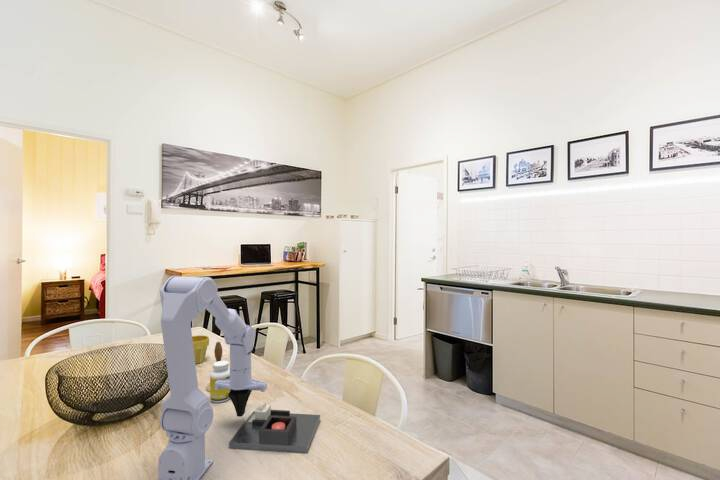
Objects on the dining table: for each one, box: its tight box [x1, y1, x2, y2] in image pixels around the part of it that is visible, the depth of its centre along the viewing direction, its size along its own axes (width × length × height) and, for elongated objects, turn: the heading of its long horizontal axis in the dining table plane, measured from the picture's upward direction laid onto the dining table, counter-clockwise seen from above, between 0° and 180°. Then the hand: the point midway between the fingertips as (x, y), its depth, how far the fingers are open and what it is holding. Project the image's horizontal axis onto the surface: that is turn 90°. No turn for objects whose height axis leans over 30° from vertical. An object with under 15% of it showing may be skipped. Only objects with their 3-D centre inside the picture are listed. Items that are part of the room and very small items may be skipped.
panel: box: [228, 409, 321, 454], centre depth 92 cm, size 15×20×5 cm
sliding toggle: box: [255, 402, 272, 420], centre depth 96 cm, size 4×3×4 cm
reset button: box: [272, 422, 285, 430], centre depth 89 cm, size 3×3×3 cm
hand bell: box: [205, 341, 223, 393], centre depth 120 cm, size 8×8×16 cm
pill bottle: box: [209, 360, 231, 403], centre depth 112 cm, size 6×6×12 cm
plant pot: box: [192, 334, 210, 365], centre depth 144 cm, size 10×10×10 cm
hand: (240, 414), depth 97 cm, fingers closed
